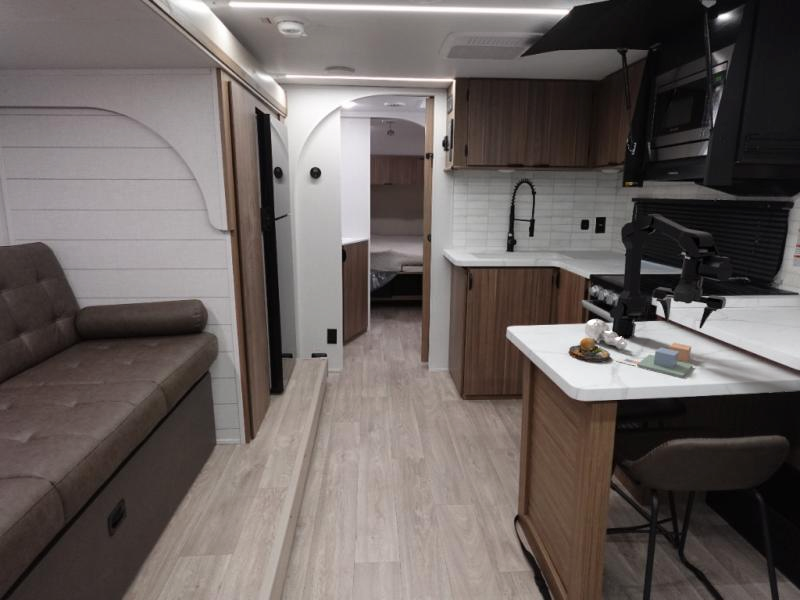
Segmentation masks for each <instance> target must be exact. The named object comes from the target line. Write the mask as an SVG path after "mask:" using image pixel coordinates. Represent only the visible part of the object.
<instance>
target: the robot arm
mask: <svg viewBox="0 0 800 600" xmlns="http://www.w3.org/2000/svg"><path fill="white" fill-rule="evenodd" d="M656 231H658V232H660V233H661V234H663V235H665V236H667V237H669V238H670V239H672V240H675V241H676V242H677V244H678V246H679V247H680V248H682V250H684V251H682V252H681V253H680V254H678V255H677V258H680V259H683V263H682V268H681V275H680V278H679V282H678V283H677V286H675V289H674V290H673V291H672V288H668V287H663V286H658V287H657V288H655V289H653V291H652V295H651V297H652V298H653V299H656V302H659V303H660V305H661V308H662V311H663V314H664V320H665V322H666V323H668V322H669V319H670V314H671V305H672V299H673V301H674V302H676V303H678V302H680V303H685V304H688V305H689V304H691V303H693V302H694V303H701V304H706V306H704V308H703V313H702V317H701V319H700V322H699V330H700V329H702V328H703V326H704V324H705V323H706V321H707V320H708V319H709V317H710V315H711V314H712V313H713V312H717V311H718V310H722V309H723V308H725V307H726V304H727V298H726V297H725V296H721V295H713V294H711V295H709V296H708V297H707V296H703V287H702V285H703V281H704V278H705V279H709V280H713V281H718V282H726V281H728V280H729V279H730V278H731V277H732V275H733V271H734V269H733V265H732V264H731V262H730V257H727V256H721V254H720V253H719V250H718V248H717V246H716V244H715V242H714V236H713V234H711V233H710V232H706V231H701V230H695V229H690V228H687V227H685V226H683V225H680V224H679V223H677V222H675V221H672V220H671V219H669V218H666V217H664V216H663V215H661V214H658V213H657V214H656V213H655V214H654V213H653V214H647V215H645V216H644V217H641V218H638V219H636V220H633V221H631V222H626V223H624V224H623V226H622V228H621V232H620V233H621V234H620V236H621V242H622V244H623V246H624V247H625V262H624V275H623V276H624V277H623V290H622V291H621V293H620V295H619V296H618V298H617V303H616V305H615V306H614V307H613V308H612V309H611V310H609V316H610V318H611V319H613V320H612V321H613V323H612V330H611V331H613V332H615V333H617V335H618V337H619V336H622V337H623V338H624V337H625V338H624V339H630V338H632V337H633V336H635V333H636V332H635V331H636V326H637V325H636V323H635V321H636V320H639V319H640V317H641V315H642V314H643V313H644V310H645V309H646V296H644V295H642V294H641V292H640V286H641V285H640V284H641V269H642V253H643V249H644V247H645V245H646V244H647V242H648V239H649V236H650V235H651V234H653V233H654V232H656Z"/></svg>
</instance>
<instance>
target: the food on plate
mask: <svg viewBox="0 0 800 600" xmlns="http://www.w3.org/2000/svg"><path fill="white" fill-rule="evenodd" d="M568 354H569V356H570V357H573V358H574V359H575V360H579V361H582V362H589V363H597V364H599V363H600V364H601V363H605V362H609V360H610V356H611V354H610V352H609V351H608V350H605V349H603V348H601V346H597V345H596V341H595V340H593V339H591V338H589V337H587V335H586V334H585V337H584V338H582V340H580V343H579V344H578V345H572V346H570V347H569V351H568ZM604 361H605V362H604Z"/></svg>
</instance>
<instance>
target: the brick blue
mask: <svg viewBox="0 0 800 600" xmlns="http://www.w3.org/2000/svg"><path fill="white" fill-rule="evenodd" d="M678 354H679V351H674V350H670V348H665V347H659V348H658V349H657V350H655V353H654V356H655V358H654V364H655V365H659V366H663V367H667V368H671V369H672V368H673V367H675V366H676V365H677V361H678Z"/></svg>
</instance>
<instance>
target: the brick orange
mask: <svg viewBox="0 0 800 600" xmlns="http://www.w3.org/2000/svg"><path fill="white" fill-rule="evenodd" d="M669 349H670V350H674V351H679V354H678V360H677V361H680V362H684V363H687V362H688V361H689V359H690V357H691V351H692V346H690V345H686V344H681V343H677V342H673V343H671V345H670V346H669Z"/></svg>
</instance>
